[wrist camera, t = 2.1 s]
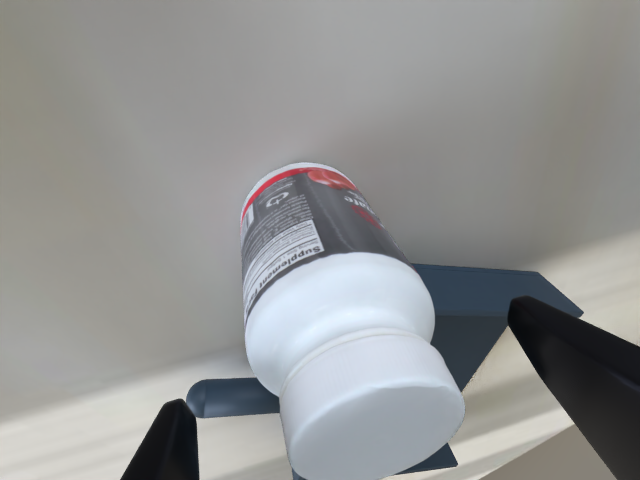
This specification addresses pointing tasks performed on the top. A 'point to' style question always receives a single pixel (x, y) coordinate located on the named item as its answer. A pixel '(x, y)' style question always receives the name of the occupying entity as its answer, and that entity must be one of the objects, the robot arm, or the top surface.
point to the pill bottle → (341, 330)
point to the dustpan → (448, 339)
